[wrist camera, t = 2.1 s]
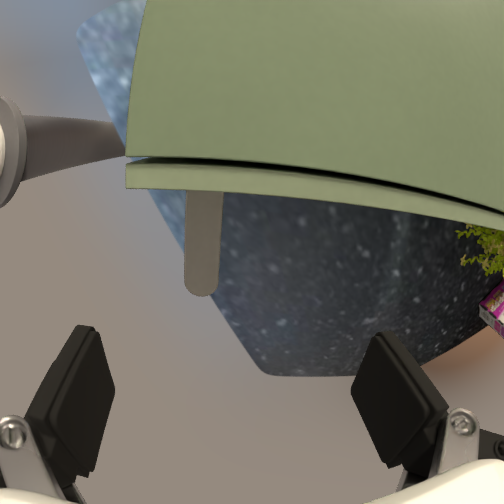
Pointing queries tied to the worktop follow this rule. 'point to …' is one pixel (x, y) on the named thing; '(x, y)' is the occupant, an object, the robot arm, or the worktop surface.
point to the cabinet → (328, 88)
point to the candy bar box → (494, 309)
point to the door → (284, 185)
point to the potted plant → (487, 247)
